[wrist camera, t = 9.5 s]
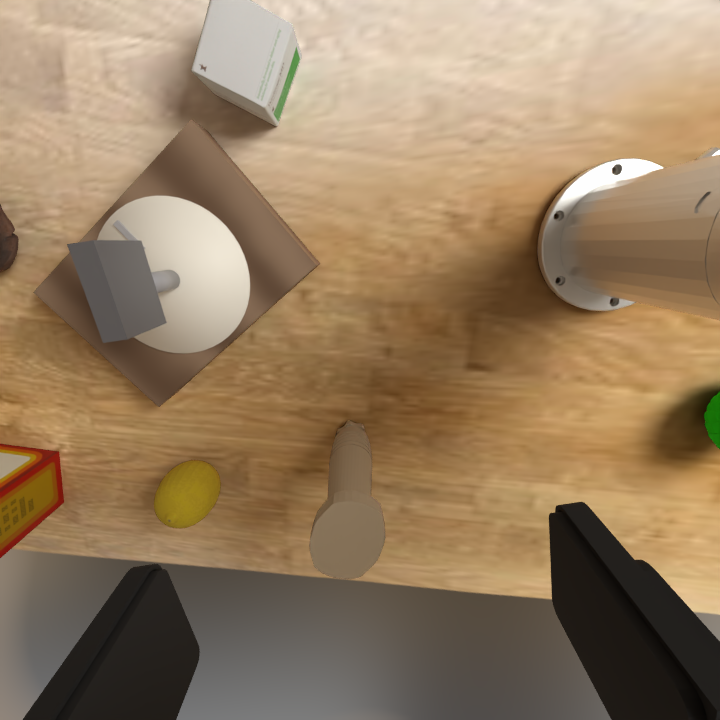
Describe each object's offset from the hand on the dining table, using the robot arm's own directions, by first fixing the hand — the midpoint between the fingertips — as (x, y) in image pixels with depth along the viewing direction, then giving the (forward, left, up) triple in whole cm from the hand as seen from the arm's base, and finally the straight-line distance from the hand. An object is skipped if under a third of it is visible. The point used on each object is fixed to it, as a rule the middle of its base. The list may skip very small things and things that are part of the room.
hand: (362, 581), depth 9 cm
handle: (+8, +8, -28) cm, 31 cm away
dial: (+9, -14, -25) cm, 30 cm away
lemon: (+23, +1, -28) cm, 37 cm away
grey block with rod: (+11, -15, -25) cm, 31 cm away
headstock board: (+9, -14, -28) cm, 33 cm away
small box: (-7, -21, -29) cm, 36 cm away
